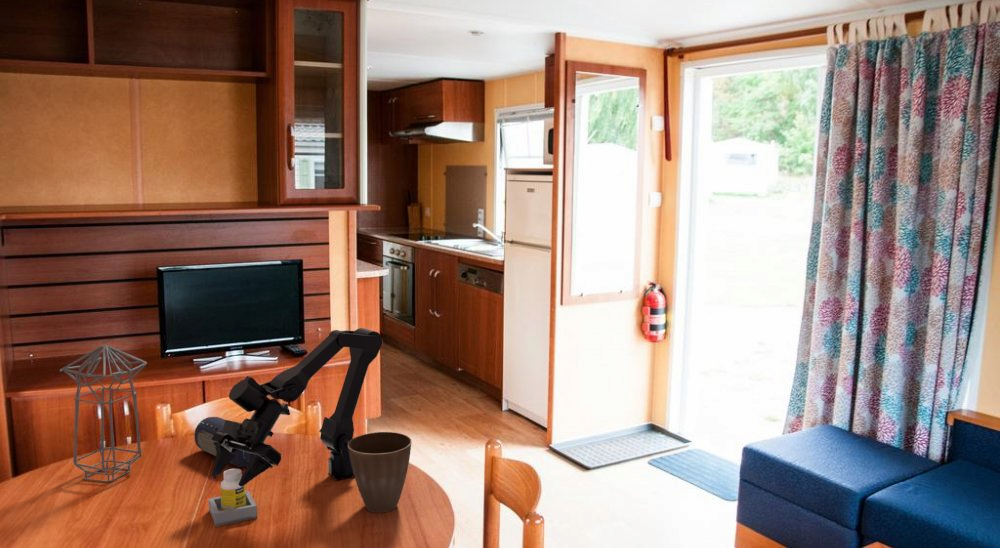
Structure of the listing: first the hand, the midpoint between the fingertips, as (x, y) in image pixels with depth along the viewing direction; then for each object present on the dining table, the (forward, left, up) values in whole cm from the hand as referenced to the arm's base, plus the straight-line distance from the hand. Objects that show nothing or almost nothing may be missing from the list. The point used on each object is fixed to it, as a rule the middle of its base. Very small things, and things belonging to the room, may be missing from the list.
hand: (226, 481), depth 179 cm
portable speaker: (-6, -38, -9) cm, 40 cm away
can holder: (-1, -1, -9) cm, 9 cm away
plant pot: (-33, +11, -9) cm, 36 cm away
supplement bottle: (-1, -1, -8) cm, 8 cm away
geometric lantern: (+23, -40, -9) cm, 47 cm away
